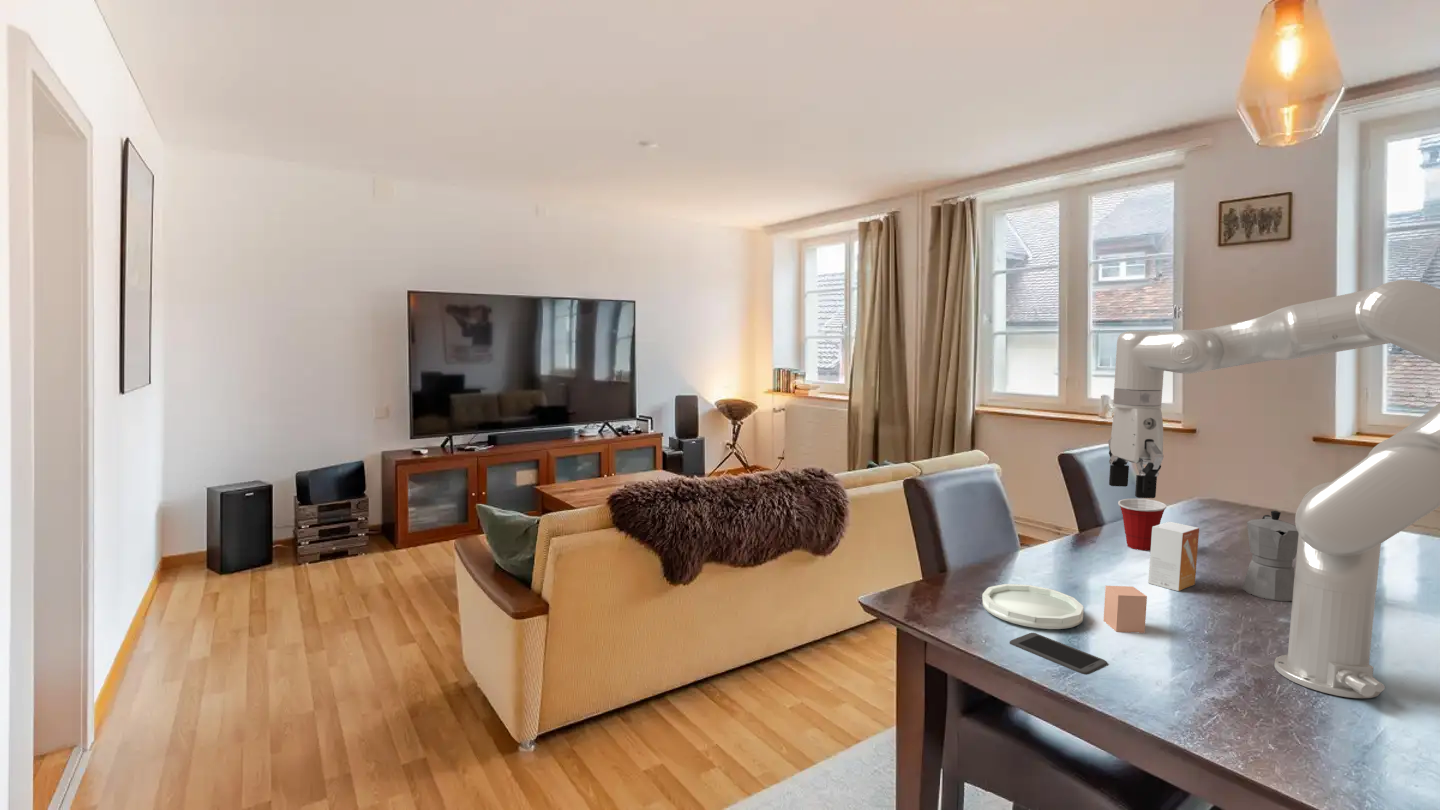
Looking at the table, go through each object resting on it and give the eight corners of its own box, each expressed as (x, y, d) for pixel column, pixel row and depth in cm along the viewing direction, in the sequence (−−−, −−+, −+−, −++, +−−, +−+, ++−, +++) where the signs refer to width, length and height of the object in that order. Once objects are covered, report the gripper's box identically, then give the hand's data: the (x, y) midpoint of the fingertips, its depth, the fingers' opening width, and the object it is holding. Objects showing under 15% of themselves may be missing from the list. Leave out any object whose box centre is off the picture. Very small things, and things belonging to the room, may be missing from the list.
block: (1144, 633, 125) (1146, 596, 124) (1116, 632, 126) (1118, 595, 125) (1130, 622, 130) (1133, 586, 129) (1103, 621, 131) (1105, 585, 130)
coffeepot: (1306, 608, 137) (1313, 520, 135) (1247, 599, 142) (1254, 515, 140) (1287, 584, 151) (1293, 505, 149) (1234, 577, 155) (1240, 500, 153)
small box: (1179, 592, 146) (1183, 532, 145) (1147, 583, 151) (1151, 526, 150) (1196, 585, 150) (1200, 527, 149) (1164, 576, 156) (1168, 520, 154)
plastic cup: (1106, 544, 180) (1108, 499, 179) (1132, 539, 185) (1135, 496, 184) (1146, 556, 171) (1149, 509, 169) (1173, 550, 175) (1176, 505, 174)
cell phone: (1031, 635, 125) (1032, 631, 125) (1109, 666, 113) (1109, 661, 113) (1007, 645, 121) (1007, 640, 121) (1085, 677, 109) (1085, 673, 109)
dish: (1100, 634, 124) (1100, 620, 124) (998, 630, 126) (999, 616, 126) (1060, 597, 142) (1060, 585, 142) (971, 594, 144) (972, 582, 144)
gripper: (1186, 404, 115) (1179, 503, 117) (1134, 395, 132) (1128, 482, 134) (1140, 403, 116) (1133, 502, 117) (1094, 395, 133) (1089, 481, 134)
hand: (1131, 491), depth 126 cm, fingers open, 9 cm apart
